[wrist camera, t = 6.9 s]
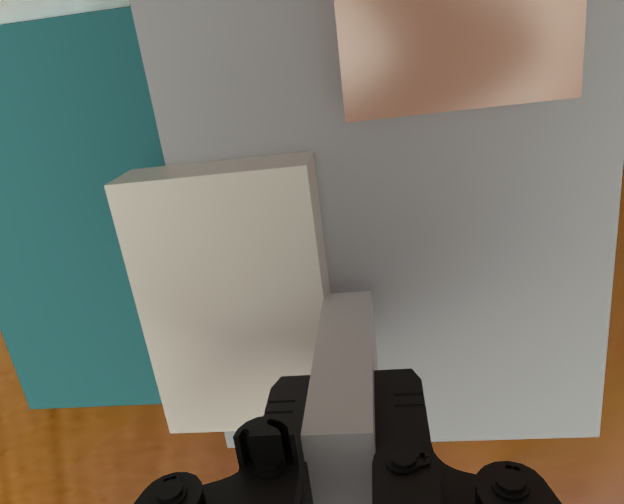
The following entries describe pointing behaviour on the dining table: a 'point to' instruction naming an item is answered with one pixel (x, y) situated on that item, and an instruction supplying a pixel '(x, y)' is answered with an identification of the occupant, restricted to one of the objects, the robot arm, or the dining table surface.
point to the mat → (72, 207)
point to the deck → (426, 204)
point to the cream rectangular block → (223, 280)
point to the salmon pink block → (457, 54)
